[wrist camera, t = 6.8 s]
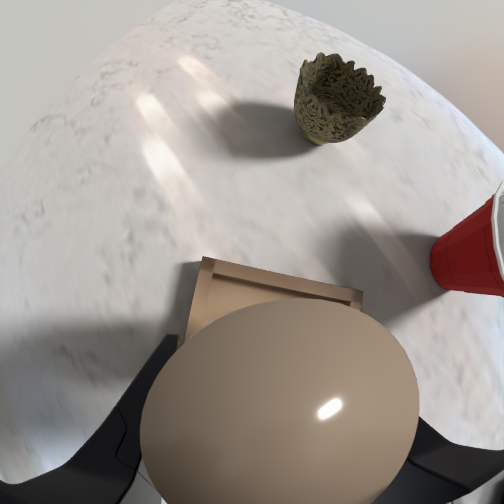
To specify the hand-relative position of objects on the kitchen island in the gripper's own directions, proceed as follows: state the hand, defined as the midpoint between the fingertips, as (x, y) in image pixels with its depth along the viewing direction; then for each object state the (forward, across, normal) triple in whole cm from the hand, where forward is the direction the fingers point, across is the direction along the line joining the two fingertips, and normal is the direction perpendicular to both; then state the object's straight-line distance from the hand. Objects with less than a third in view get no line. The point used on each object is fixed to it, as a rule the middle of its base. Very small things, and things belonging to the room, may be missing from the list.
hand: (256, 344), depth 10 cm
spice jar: (+4, 0, +6) cm, 7 cm away
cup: (+23, -7, -4) cm, 24 cm away
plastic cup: (+14, -22, +5) cm, 27 cm away
